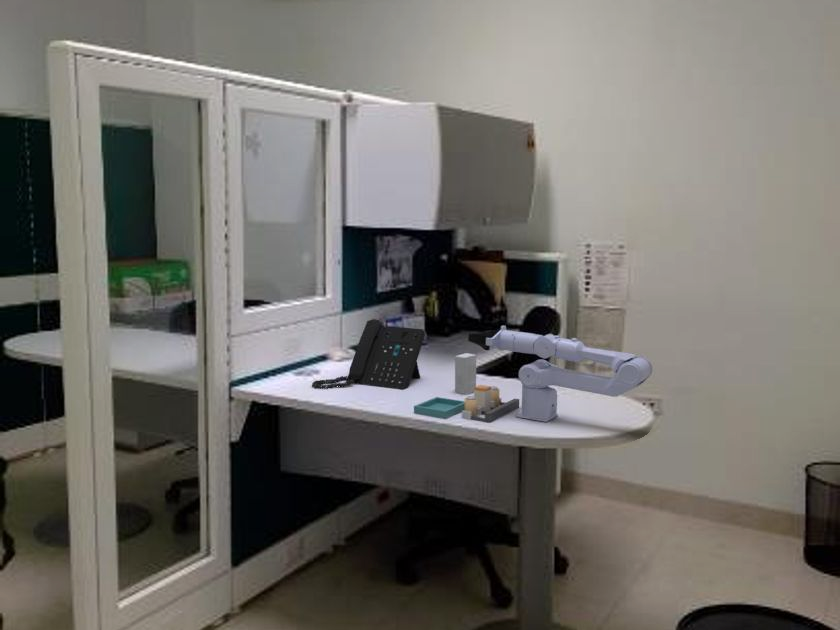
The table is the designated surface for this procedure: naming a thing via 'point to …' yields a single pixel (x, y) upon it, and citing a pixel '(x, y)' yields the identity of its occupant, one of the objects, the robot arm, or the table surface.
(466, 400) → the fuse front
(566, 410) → the table surface
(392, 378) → the office phone
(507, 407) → the holder block
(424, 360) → the table surface
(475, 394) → the block
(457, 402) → the tray
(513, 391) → the table surface
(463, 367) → the skincare box
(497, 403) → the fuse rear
